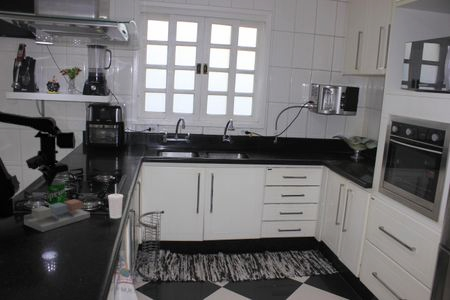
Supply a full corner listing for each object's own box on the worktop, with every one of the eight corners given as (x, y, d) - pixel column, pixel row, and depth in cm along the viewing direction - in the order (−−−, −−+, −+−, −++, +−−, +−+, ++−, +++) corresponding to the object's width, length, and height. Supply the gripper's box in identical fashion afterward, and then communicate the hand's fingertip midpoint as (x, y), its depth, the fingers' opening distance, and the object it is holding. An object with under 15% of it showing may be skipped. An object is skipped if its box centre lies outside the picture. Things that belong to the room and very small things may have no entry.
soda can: (44, 204, 177) (43, 178, 175) (61, 201, 182) (60, 176, 180) (52, 209, 172) (51, 182, 170) (68, 205, 177) (68, 179, 175)
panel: (24, 224, 153) (23, 215, 153) (71, 210, 171) (71, 203, 170) (42, 232, 147) (42, 222, 146) (89, 217, 164) (89, 209, 164)
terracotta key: (64, 208, 163) (64, 201, 163) (74, 205, 167) (74, 199, 167) (71, 211, 161) (71, 204, 160) (81, 208, 165) (81, 201, 164)
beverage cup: (107, 219, 163) (107, 186, 161) (108, 214, 169) (108, 182, 166) (123, 218, 165) (123, 185, 162) (123, 213, 171) (123, 182, 168)
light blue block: (48, 212, 157) (48, 205, 157) (59, 209, 161) (59, 202, 161) (56, 215, 155) (56, 207, 154) (67, 212, 159) (66, 204, 158)
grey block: (31, 216, 152) (31, 209, 151) (43, 213, 156) (43, 206, 155) (39, 219, 149) (39, 211, 149) (51, 216, 153) (50, 208, 153)
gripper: (15, 147, 160) (17, 185, 163) (42, 154, 150) (44, 194, 153) (41, 144, 169) (42, 180, 172) (68, 150, 159) (69, 188, 162)
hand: (49, 185), depth 164 cm, fingers closed
